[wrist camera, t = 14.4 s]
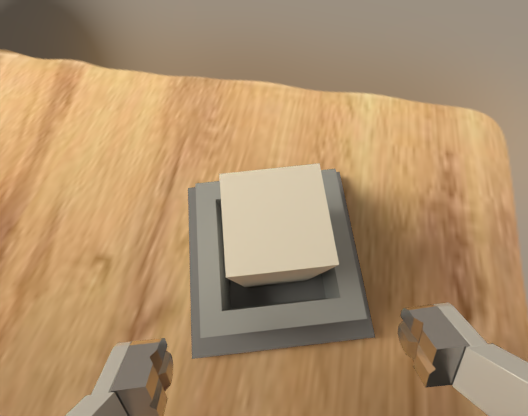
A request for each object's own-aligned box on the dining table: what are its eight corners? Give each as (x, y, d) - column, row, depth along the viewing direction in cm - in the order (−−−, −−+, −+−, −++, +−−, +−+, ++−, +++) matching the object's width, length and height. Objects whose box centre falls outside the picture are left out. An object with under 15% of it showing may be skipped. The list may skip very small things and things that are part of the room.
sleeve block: (247, 288, 19) (225, 277, 10) (242, 232, 20) (219, 174, 11) (304, 281, 19) (339, 264, 10) (296, 226, 20) (319, 163, 11)
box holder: (196, 355, 19) (171, 375, 14) (192, 193, 23) (170, 164, 18) (368, 335, 19) (403, 347, 14) (335, 178, 23) (354, 145, 18)
